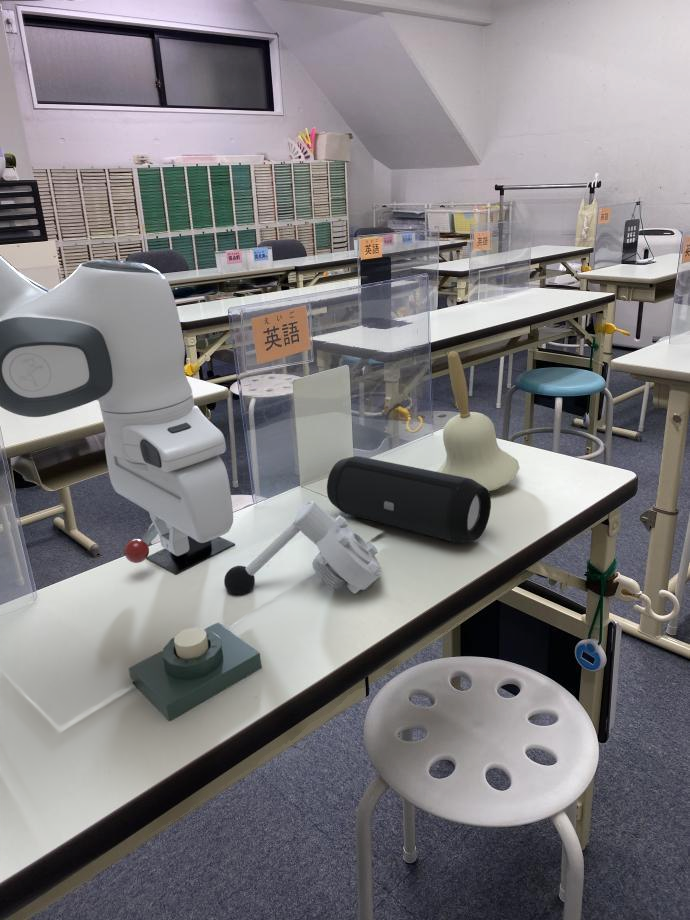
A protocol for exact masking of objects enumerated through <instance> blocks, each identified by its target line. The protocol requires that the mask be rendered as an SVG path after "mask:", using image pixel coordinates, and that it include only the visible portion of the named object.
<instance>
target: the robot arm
mask: <svg viewBox="0 0 690 920" xmlns="http://www.w3.org/2000/svg"><path fill="white" fill-rule="evenodd" d="M177 307H178V306H177V303H176V300H175V297H174V293H173V291H172V288H171V286H170V283H169V281H168V280H167V278H166V277H165V275H163V274H162V273H161V272H160V271H159V270H157V269H156V268H154V267H152V266H151V265H149V264H146V263H143V262H137V261H132V260H131V261H130V260H120V259H105V260H104V259H92V260H88V261H85V262H82V263H80V264H79V265H78V267H77V268H76V269H75V270H74V271H73V272H72V273H71V274H70V275H69V276H68V277H67V278H65V279H64V280H62V281H61V282H60V283H59V284H57V285H56V286H54V287H53V288H51V289H50V288H48V287H46V286H44V285H41V284H39V283H37V282H36V281H33V280H32V279H30V278H28V277H27V276H26V275H24V274H23V273H22V272H21V271H19V270H18V269H17V268H16V267H15V266H13V264H11V263H10V262H9V261H8V260H7V259H5V258H4V257H3V256H2V255H1V254H0V408H2V409H3V410H5V411H7V412H9V413H12V414H13V415H17V416H22V417H26V418H28V417H29V418H42V417H49V416H51V415H56V414H59V413H62V412H67V411H70V410H73V409H75V408H78V407H81V406H84V405H87V404H90V403H92V402H95V401H97V402H98V403H99V404H98V405H99V408H100V412H101V416H102V417H101V418H102V423H103V427H104V431H105V436H104V451H105V458H106V464H107V471H108V477H109V481H110V484H111V487H112V488H113V490H114V492H115V493H117V494H118V495H120V496H122V497H123V498H125V499H126V500H128V501H129V502H131V503H133V504H135V505H136V506H138V507H139V508H141V509H143V510H145V511H147V512H148V513H149V518H150V520H151V521H152V525H153V524H154V526H155V528H156V530H157V531H158V535H159V540H160V544H161V547H162V548H163V549H165V548H166V549H167V550H169V551H170V552H171V553H173V554H174V555H176V556H179V555H182V554H184V553H186V552H188V550H189V542H188V536H190V537H191V538H193V539H195V540H196V541H198V542H200V543H204V542H207V541H210V540H212V539H215V538H217V537H221V536H223V535H226V534H227V533H229V532H230V530H231V529H232V526H233V524H234V509H233V501H232V492H231V486H230V479H229V475H228V471H227V467H226V465H225V463H224V461H223V459H222V458H221V457H220V455H222V454H224V453H226V450H227V445H226V439H225V436H224V434H223V432H222V431H221V430H220V429H219V428H218V427H216V426H215V425H214V424H213V423H212V422H211V421H210V420H209V419H208V418H207V417H206V416H205V415H204V413H203V412H202V411H201V409H200V407H198V406H197V405H195V401H194V395H193V388H192V386H191V384H190V382H189V380H188V378H187V375H186V371H185V356H186V347H185V340H184V335H183V330H182V325H181V320H180V319H181V318H180V315H179V311H178V308H177Z"/></svg>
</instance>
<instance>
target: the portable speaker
mask: <svg viewBox="0 0 690 920" xmlns="http://www.w3.org/2000/svg"><path fill="white" fill-rule="evenodd" d="M326 494H327V497H328V500H329V502H330V503H331V504H332V505H333V506H334V507H335V508H337V509H338V510H339V511H340V512H342V513H343V514H346V515H349V516H354V517H358V518H361V519H363V520H364V519H365V520H369V521H371V522H375V523H379V524H383V525H387V526H391V527H395V528H399V529H402V530H407V531H411V532H414V533H418V534H422V535H425V536H430V537H433V538H437V539H440V540H445V541H448V542H452V543H456V544H461V543H468V542H475V541H477V540H479V539H480V538H481V537H482V535H483V534H484V532H485V531H486V528H487V526H488V524H489V519H490V515H491V509H492V498H491V493H490V491H488V490H487V488H485V487H484V486H482V485H481V484H479V483H478V482H476V481H474V480H473V479H470V478H465V477H460V476H455V475H450V474H445V473H440V472H437V471H435V470H430V469H425V468H419V467H415V466H411V465H410V466H409V465H404V464H400V463H396V462H395V463H394V462H390V461H386V460H385V461H384V460H381V459H380V460H379V459H374V458H369V457H364V456H359V455H354V456H350V457H346V458H342V459H340V460H338V461H336V463H335V464H334V465H333V466H332V468H331V470H330V472H329V474H328V477H327V483H326Z"/></svg>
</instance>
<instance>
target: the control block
mask: <svg viewBox="0 0 690 920" xmlns="http://www.w3.org/2000/svg"><path fill="white" fill-rule="evenodd" d="M203 630H204V631H205V632H206V635H207V640H208V650H207V652H206V653H205V654H203V655H201V656H199V657H198V658H192V659H182V658H180V657H178V656H177V653H176V648H175V643H174V638H175V636H174V637H173V638H171V639H169V641H168V642H167V643H166V645H165V646H164V647H163V648H162V650H161V651H159V652H156V653H154V654H153V655H151V656H149V657H147V658H145V659H143V660H141V661H140V662H137V663H134V664H133V665H131V666H129V667H128V671H129V676H130V678H131V679H132V682H131V684H132V685H133V686H134V687H135V688H136V689H137V690H138V691H139V692H140V693H141V694H142V695H143V696H144V697H145V698H146V699H147V701H149V702H150V703H151V704H152V706H154V707H155V709H156V710H157V711H158V712H159V713H160V714H161V715H162V716H163V717H164V718H165V719H166V720H167V721H168V722H172V721H173V720H175V719H177V718H179V717H180V716H183V714H186V713H187V712H189V711H191V710H193V708H195V707H198V706H200V705H201V704H202V703H204V702H206V701H208V700H210V699H211V698H213V697H215V696H216V695H218V694H220V693H221V692H223V691H225V690H227V689H228V688H230V687H232V686H233V685H235V684H237V683H239V682H240V681H242V680H243V679H246V678H247V677H249V676H251V675H252V674H253V673H255V672H258V671H259V670H261V669H262V668H263V666H262V665H263V664H262V659H261V653H260V651H258V650H257V649H255V648H254V647H252V645H250V644H249V643H247V642H246V641H244V640H243V639H242V638H241V637H239V636H238V635H236V634H235V633H234V632H232V631H231V630H229V629H228V628H227V627H225V626H224V625H223V624H221V623H220V622H216V623H213V624H211V625H210V626H207V627H206V628H203Z"/></svg>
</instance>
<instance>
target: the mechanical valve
mask: <svg viewBox="0 0 690 920" xmlns="http://www.w3.org/2000/svg"><path fill="white" fill-rule="evenodd" d="M299 532H301V533H302V534H303V535H304V536H305V537H306V538H307V539H309V540H310V541H311V542H312V543H313V544H314V545H315V546H316V547H317V549H318V553H317V554H316V555H315V558H313V560H312V568H313V570H314V572H315V573H316V575H317V577H318V578H319V579H320V580H321V581H322V582H323V583H324V584H325V585H326V586H328V587H329V588H331V589H334V590H338V589H339V588H341V586H343V585H344V584H345V583H346V582H347V584H346V586H347V588H348V590H349V591H350V592H351V593H353V594H355V595H356V594H357V593H359V592H360V591H365V590H366V589H367V588H369V587H370V586H371V585H372V584H373V583H374V582H375V581H376V580H378V579H379V578H380V577H381V576H382V574H383V571H382V568H381V565H380V563H379V561H378V559H377V558H376V554H378V549H377V547H376V546H375V545H374V544H373V543H371V542H366V541H365V540H364V538H362V537H361V536H360V534H358V533H356V532H354V531H353V530H352V529H351V528H350V527H349V522H348V521H347V519H346V518H345V517H344V516H342V515H340V514H339V515H338V516H337V517H335V518H334V517H333V518H332V517H331V516H330V515H329V514H328V513H327V512H326V511H325V510H324V509H323V508H322V507H320V505H318V504H317V503H316V502H315V501H314V500H310V501H308V502H306V504H305V505H304V506H303V507H301V509H299V511H298V512H297V514H296V515H295V517H294V520H293V522H292V523H291V524H290V525H289V526H288V527H287V528H285V530H284V531H282V532H281V533H280V534H279V536H277V537H276V538H275V539H274V541H272V542H271V543H270V544H269V545H268V546H267V547H265V549H264V550H262V552H260V554H259V555H257V556H256V557H255V558H254V559H253V560H252V561H251V562H250V563H249V564H248V565H247V566H245V565H235V566H232V567H231V568H230V569H228V570H227V572H226V573H225V575H224V579H223V582H224V587H225V590H226V591H227V592H228V593H229V594H230V595H233V596H243V595H247V594H248V593H250V592H251V591H252V590H253V589H254V586H255V582H256V580H255V579H256V578H255V575H256V573H257V572H259V570H261V569H262V568H263V567H264V566H266V564H267V563H268V562H270V560H271V559H272V558H273V557H274V556H276V554H278V553H279V551H281V550H282V549H283V548H284V547H285V546H286V545H287V544H288V543H289V542H290V541H291V540H292V539H293V538H294V537H295V536H296V535H297V534H299Z"/></svg>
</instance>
